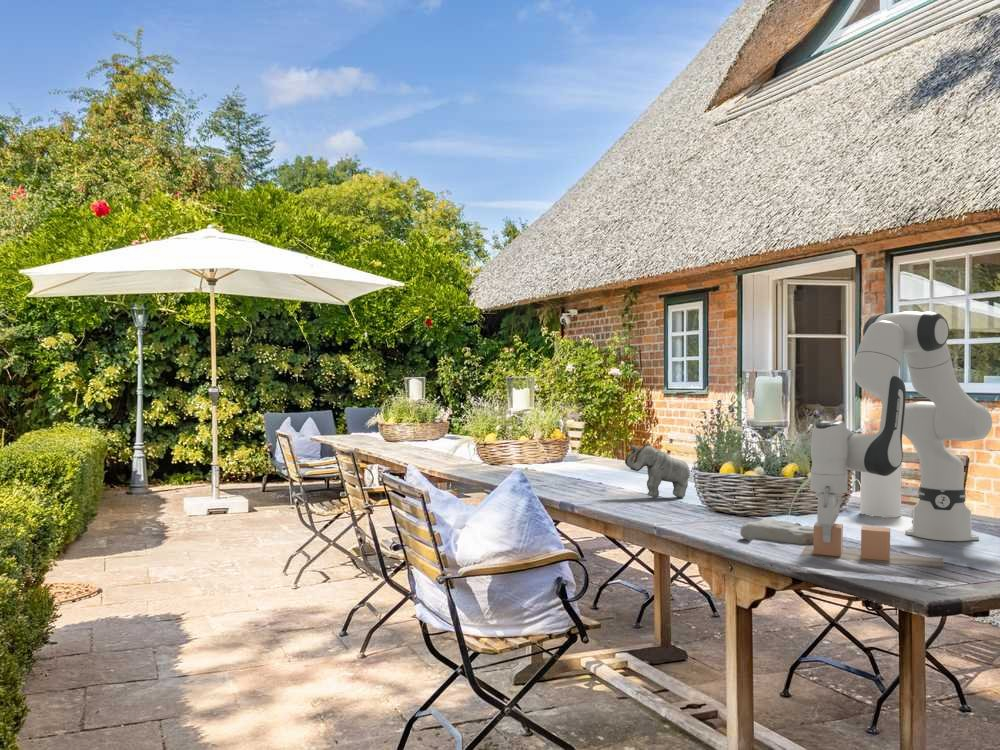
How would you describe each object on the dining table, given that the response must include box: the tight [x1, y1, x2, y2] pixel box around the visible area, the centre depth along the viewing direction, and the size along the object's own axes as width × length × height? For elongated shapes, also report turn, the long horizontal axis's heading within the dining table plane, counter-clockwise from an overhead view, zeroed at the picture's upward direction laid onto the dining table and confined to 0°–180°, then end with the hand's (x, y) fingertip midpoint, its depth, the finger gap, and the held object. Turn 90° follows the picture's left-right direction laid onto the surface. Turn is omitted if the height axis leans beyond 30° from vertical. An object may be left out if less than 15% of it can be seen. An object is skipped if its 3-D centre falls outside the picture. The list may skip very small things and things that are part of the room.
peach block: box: [813, 521, 844, 556], centre depth 216 cm, size 6×6×7 cm
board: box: [800, 545, 945, 570], centre depth 212 cm, size 13×32×1 cm, turn 65°
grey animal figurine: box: [624, 444, 691, 499], centre depth 322 cm, size 25×9×20 cm, turn 100°
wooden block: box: [860, 525, 891, 561], centre depth 212 cm, size 6×6×7 cm
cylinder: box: [859, 464, 902, 518], centre depth 288 cm, size 12×12×25 cm
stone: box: [740, 518, 814, 545], centre depth 238 cm, size 21×15×5 cm
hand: (828, 539), depth 216 cm, fingers closed on peach block, 6 cm apart
